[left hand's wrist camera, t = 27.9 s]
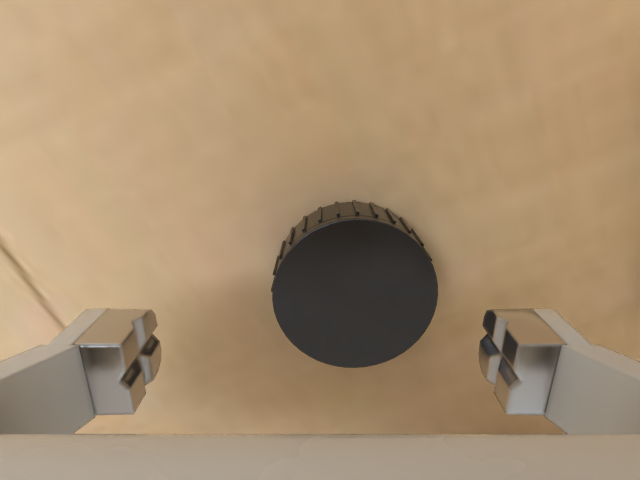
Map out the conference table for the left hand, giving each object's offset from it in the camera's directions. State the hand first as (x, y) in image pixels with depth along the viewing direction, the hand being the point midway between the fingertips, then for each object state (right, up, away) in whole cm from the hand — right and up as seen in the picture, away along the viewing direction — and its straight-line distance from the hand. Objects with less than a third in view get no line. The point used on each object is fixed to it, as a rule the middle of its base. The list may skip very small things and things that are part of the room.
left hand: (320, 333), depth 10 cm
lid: (+1, +1, +3) cm, 3 cm away
